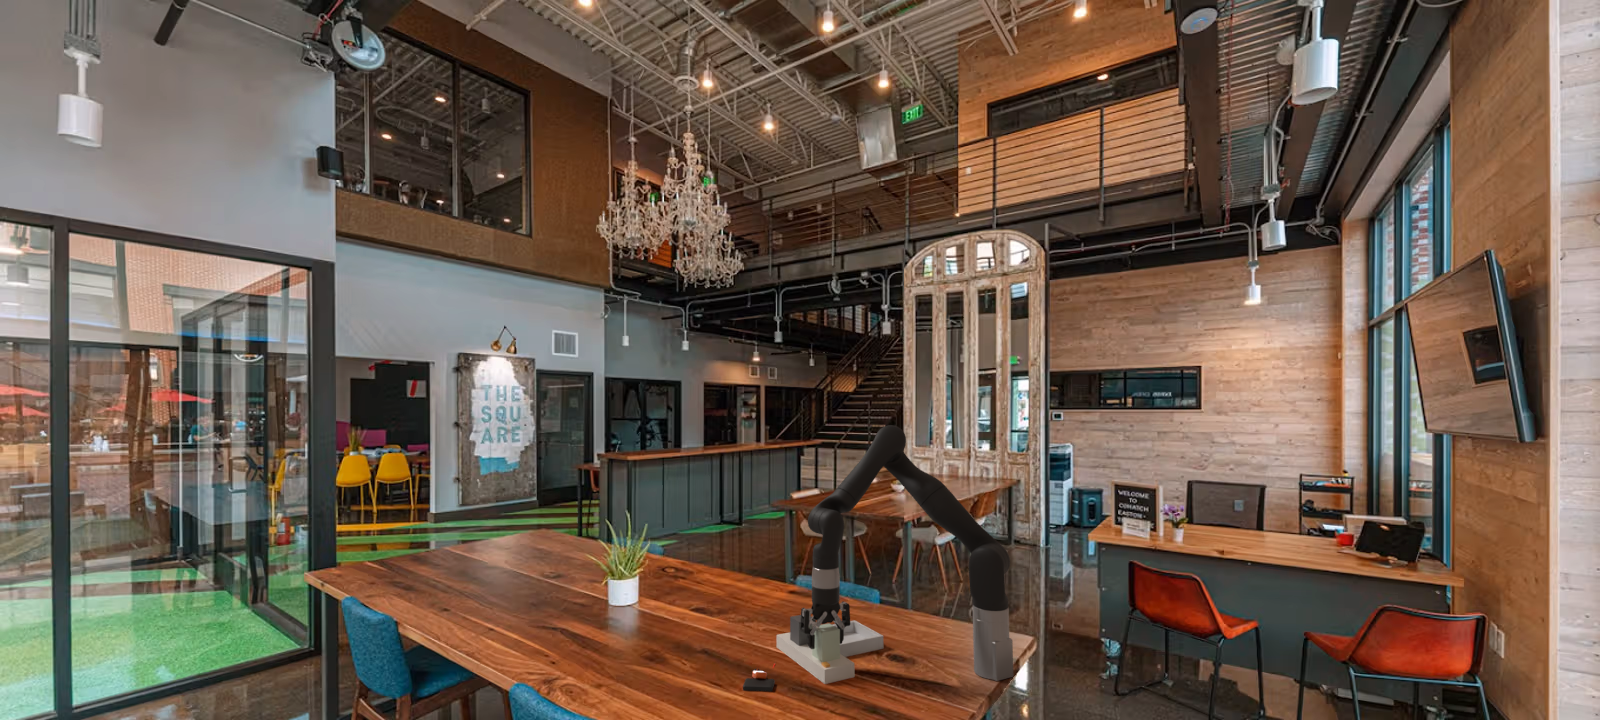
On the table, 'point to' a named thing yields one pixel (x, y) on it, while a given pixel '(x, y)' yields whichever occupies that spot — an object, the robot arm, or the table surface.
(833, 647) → the block
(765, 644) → the table surface
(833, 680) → the flat gray board
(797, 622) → the block
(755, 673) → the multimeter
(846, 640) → the tray
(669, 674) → the table surface
